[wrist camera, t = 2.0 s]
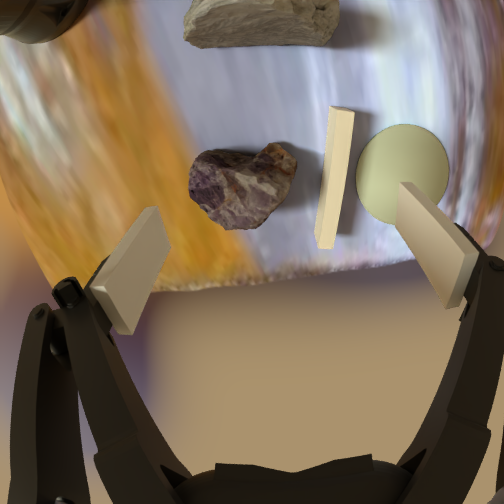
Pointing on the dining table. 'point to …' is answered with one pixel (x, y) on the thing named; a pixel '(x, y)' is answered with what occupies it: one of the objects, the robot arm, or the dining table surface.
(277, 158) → the rock
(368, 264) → the dining table surface
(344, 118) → the rail
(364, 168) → the felt pad
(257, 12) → the decorative rock
